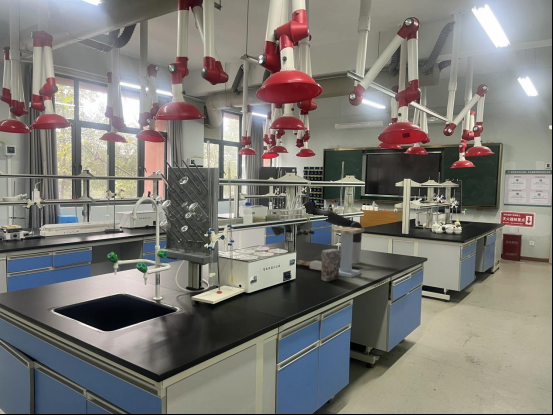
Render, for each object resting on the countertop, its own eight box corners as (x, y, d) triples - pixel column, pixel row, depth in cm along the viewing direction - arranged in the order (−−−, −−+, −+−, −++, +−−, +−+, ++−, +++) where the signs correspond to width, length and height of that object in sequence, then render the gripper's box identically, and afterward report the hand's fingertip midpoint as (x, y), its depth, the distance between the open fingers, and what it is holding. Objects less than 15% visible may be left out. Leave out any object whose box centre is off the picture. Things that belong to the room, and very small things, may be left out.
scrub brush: (294, 265, 294) (295, 259, 294) (300, 264, 300) (300, 257, 300) (321, 270, 281) (321, 263, 280) (326, 268, 287) (326, 262, 287)
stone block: (328, 282, 248) (329, 251, 246) (319, 280, 252) (320, 250, 251) (340, 278, 257) (341, 249, 256) (331, 276, 262) (332, 248, 261)
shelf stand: (328, 274, 269) (329, 229, 267) (342, 269, 286) (344, 226, 284) (348, 278, 259) (350, 231, 257) (362, 272, 277) (364, 228, 275)
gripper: (288, 227, 293) (306, 229, 283) (298, 225, 304) (316, 227, 295) (288, 236, 294) (305, 239, 284) (298, 235, 305) (315, 237, 295)
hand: (311, 233), depth 289 cm, fingers open, 8 cm apart
